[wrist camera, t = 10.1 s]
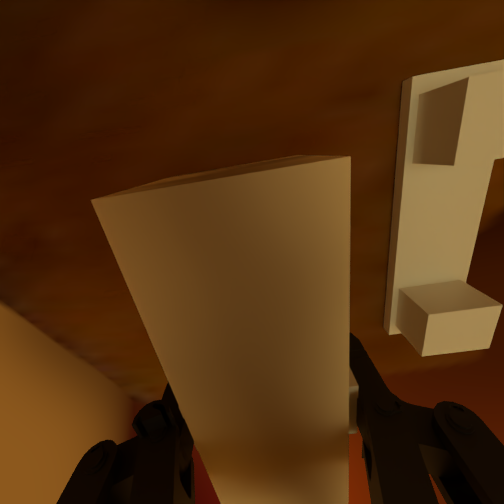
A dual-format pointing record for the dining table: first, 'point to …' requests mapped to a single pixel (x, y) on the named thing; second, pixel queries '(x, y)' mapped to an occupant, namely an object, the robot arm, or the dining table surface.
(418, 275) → the beige bracket
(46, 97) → the dining table surface
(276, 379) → the bar
